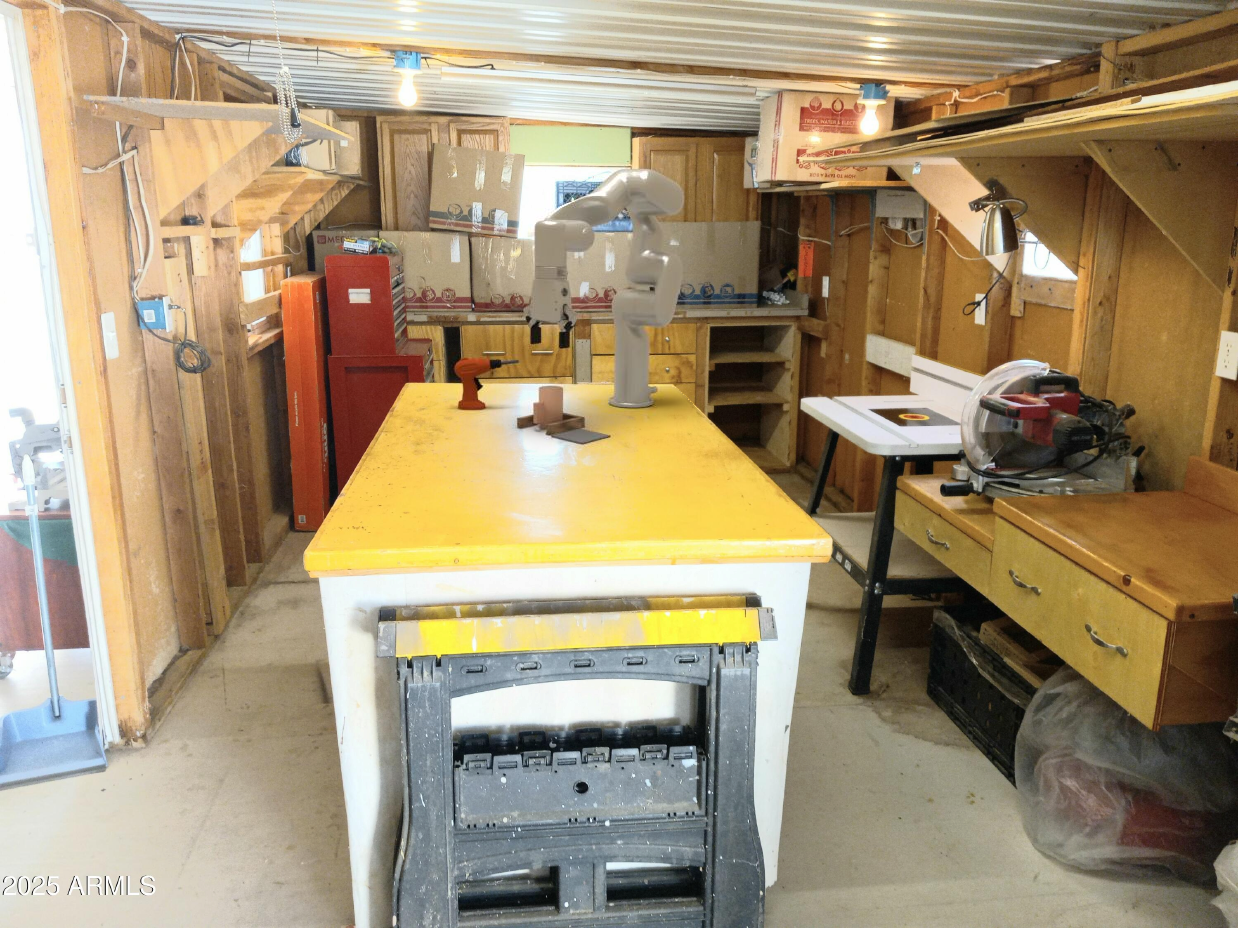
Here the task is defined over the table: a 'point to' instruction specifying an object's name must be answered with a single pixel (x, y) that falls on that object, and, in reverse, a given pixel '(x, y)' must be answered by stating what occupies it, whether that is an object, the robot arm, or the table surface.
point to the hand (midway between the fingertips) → (549, 345)
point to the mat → (580, 436)
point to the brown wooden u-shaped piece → (567, 424)
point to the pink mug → (548, 406)
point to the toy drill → (475, 379)
